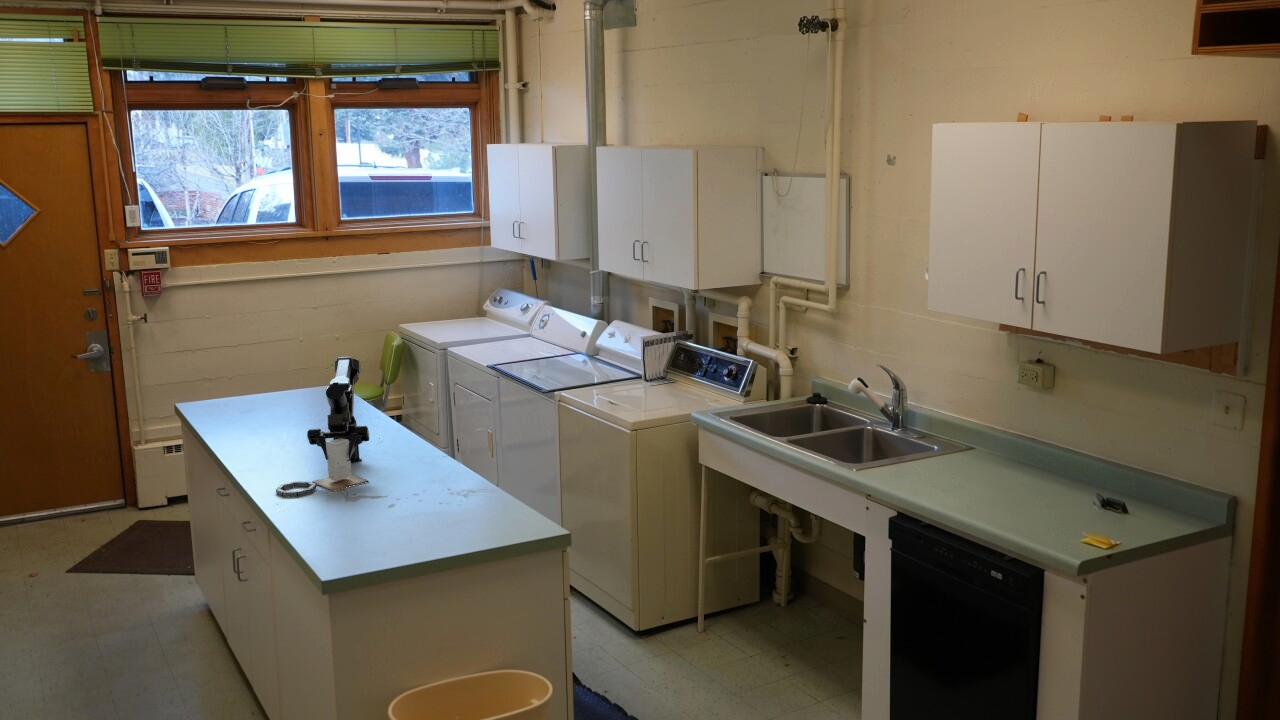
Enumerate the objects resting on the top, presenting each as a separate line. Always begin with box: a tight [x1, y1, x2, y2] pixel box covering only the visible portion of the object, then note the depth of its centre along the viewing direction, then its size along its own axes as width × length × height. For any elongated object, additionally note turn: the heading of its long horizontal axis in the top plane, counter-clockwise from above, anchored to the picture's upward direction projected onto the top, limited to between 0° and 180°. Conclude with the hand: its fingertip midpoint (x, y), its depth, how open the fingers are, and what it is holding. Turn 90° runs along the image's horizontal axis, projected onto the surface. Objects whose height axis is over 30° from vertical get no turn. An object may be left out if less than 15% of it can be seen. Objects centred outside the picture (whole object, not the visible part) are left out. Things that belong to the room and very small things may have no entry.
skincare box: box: [326, 438, 353, 480], centre depth 351 cm, size 6×4×12 cm
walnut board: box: [311, 472, 370, 492], centre depth 352 cm, size 13×13×1 cm
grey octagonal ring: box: [275, 480, 317, 498], centre depth 344 cm, size 11×11×2 cm
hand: (337, 458), depth 350 cm, fingers closed on skincare box, 7 cm apart
